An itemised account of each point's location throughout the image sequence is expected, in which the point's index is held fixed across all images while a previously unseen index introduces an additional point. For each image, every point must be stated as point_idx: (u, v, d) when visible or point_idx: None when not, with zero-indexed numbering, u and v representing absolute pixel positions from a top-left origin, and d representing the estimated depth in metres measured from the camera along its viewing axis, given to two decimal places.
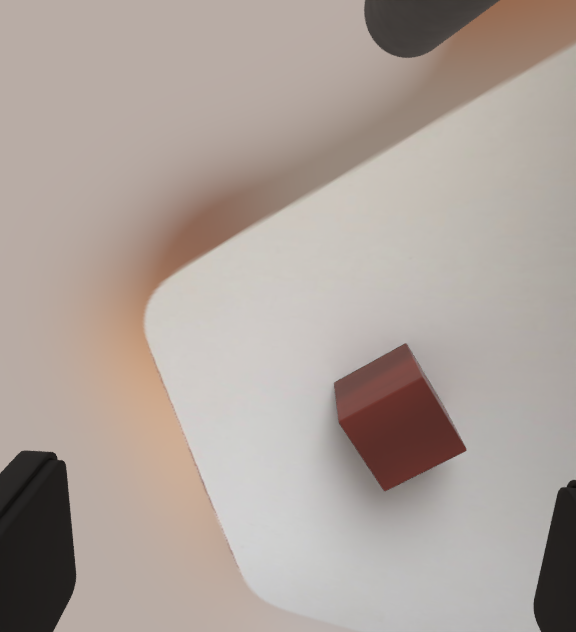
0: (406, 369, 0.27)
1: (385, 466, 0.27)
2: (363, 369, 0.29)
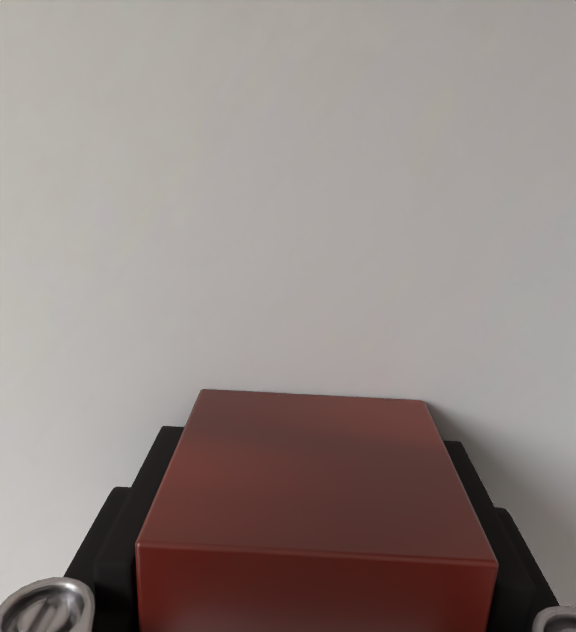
0: None
1: None
2: None
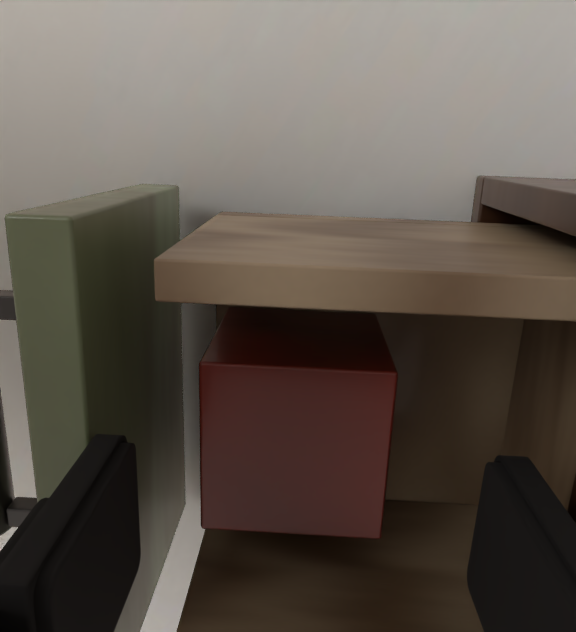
0: None
1: (332, 512, 0.13)
2: None
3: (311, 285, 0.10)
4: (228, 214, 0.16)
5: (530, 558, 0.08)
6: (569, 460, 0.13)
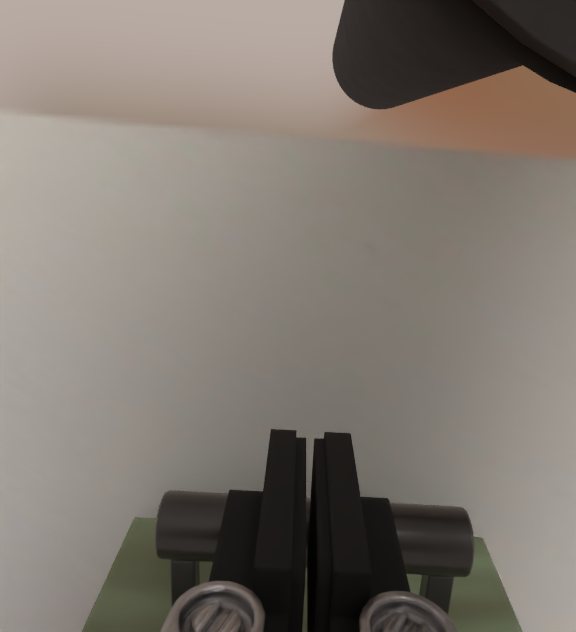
0: None
1: None
2: None
3: None
4: None
5: (315, 523, 0.09)
6: None
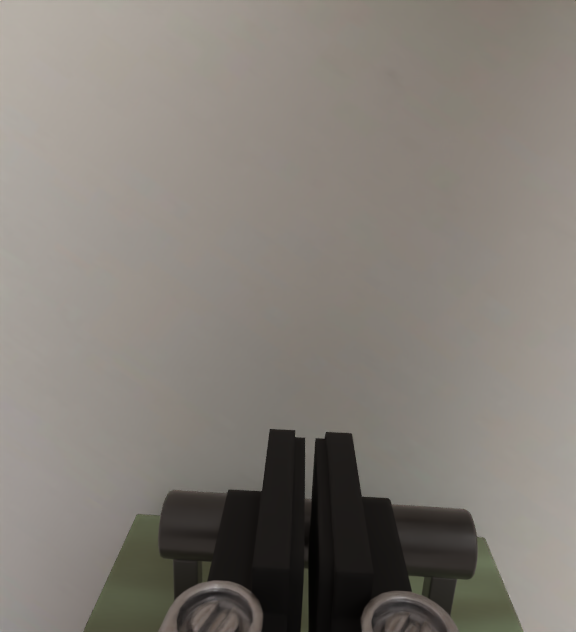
0: None
1: None
2: None
3: None
4: None
5: (316, 523, 0.09)
6: None
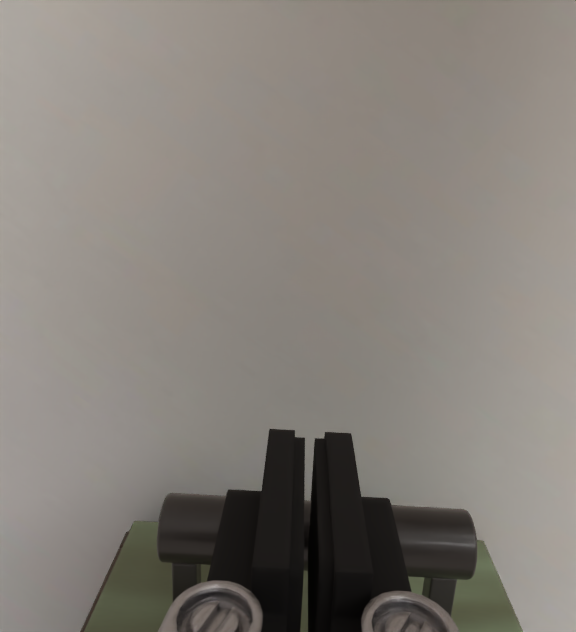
0: None
1: None
2: None
3: None
4: None
5: (316, 523, 0.09)
6: None
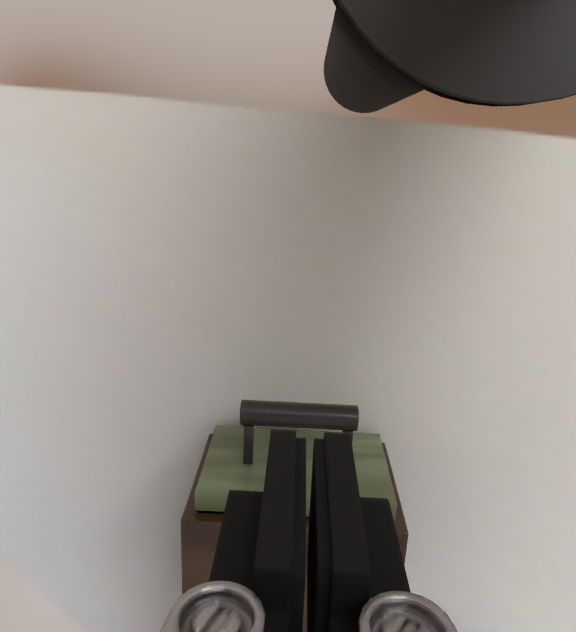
0: None
1: None
2: None
3: None
4: None
5: (315, 523, 0.09)
6: None
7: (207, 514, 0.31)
